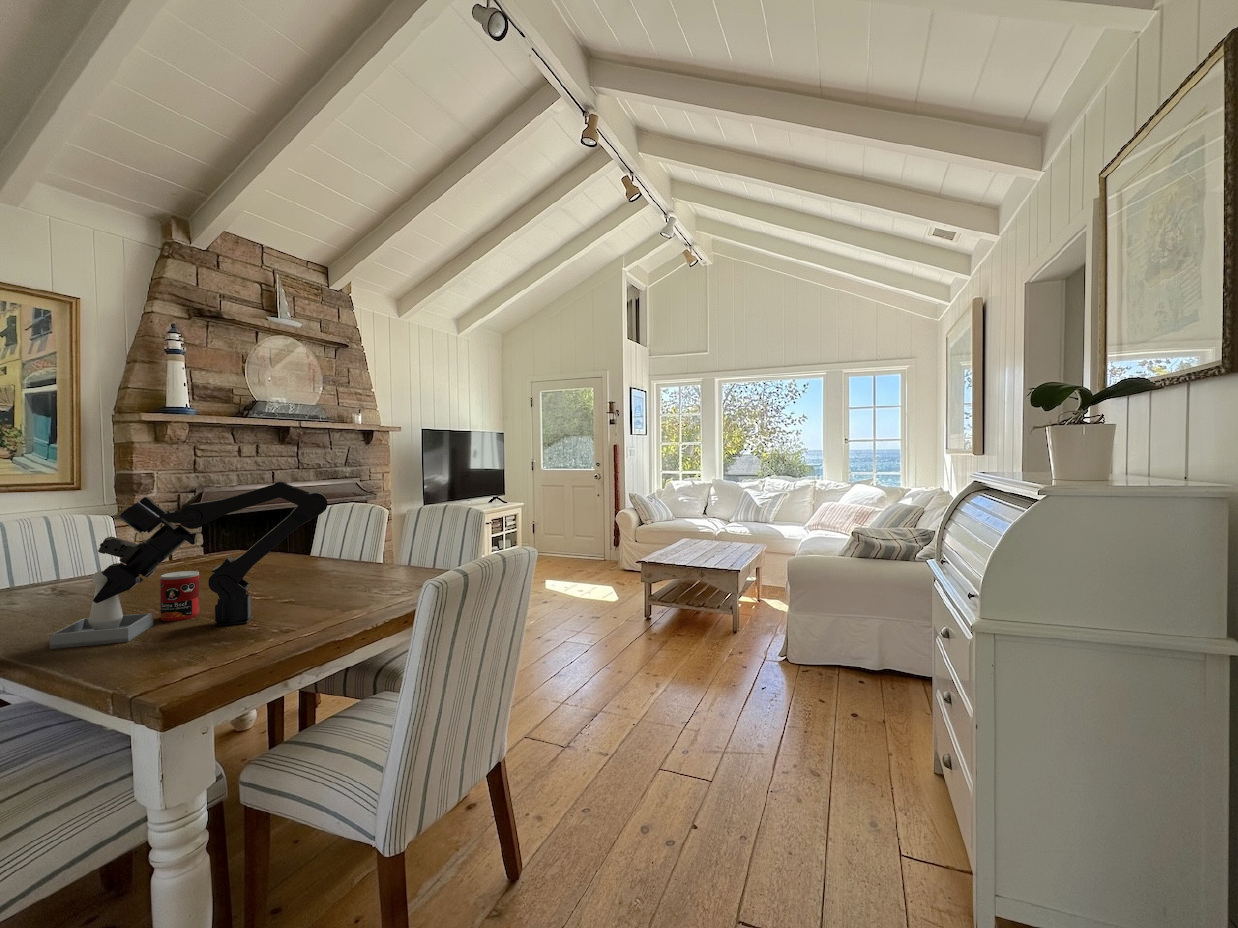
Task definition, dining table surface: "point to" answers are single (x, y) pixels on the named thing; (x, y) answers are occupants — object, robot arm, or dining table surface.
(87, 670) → the dining table surface
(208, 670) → the dining table surface
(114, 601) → the salt shaker
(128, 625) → the tray
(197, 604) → the canned food
